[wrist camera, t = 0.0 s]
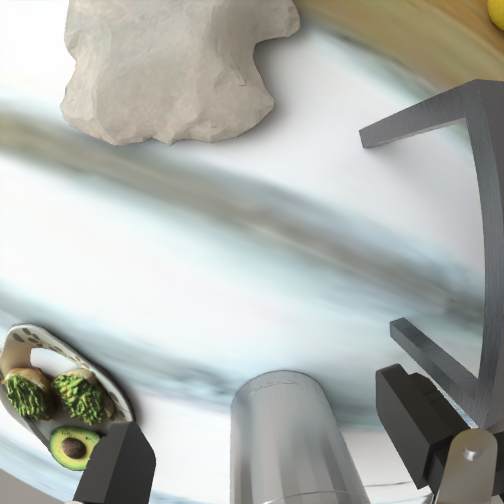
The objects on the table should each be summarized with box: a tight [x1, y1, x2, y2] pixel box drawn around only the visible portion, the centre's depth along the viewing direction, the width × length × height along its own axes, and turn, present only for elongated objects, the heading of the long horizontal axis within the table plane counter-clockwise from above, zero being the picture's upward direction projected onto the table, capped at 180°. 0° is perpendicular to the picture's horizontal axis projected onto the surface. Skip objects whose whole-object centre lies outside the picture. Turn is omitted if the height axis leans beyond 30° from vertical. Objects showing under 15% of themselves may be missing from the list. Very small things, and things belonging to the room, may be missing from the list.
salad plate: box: [0, 323, 136, 471], centre depth 26 cm, size 19×18×5 cm
